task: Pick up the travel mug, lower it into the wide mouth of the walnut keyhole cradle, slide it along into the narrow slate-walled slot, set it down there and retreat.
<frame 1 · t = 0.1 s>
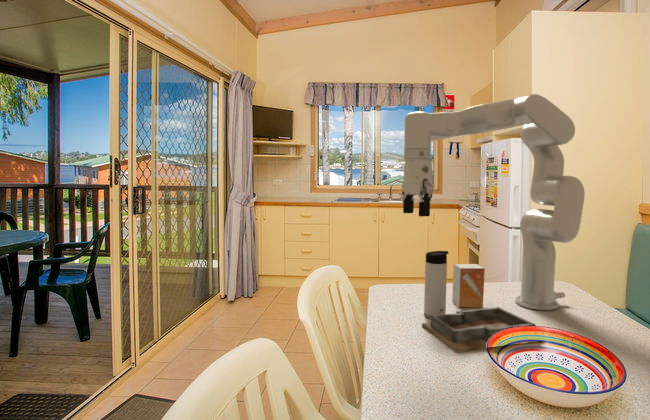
hand: (415, 214, 117), 31 cm above the table, fingers open, 9 cm apart
keyhole cradle: (474, 334, 107), on the table
small box: (467, 305, 131), on the table
travel mug: (435, 316, 120), on the table
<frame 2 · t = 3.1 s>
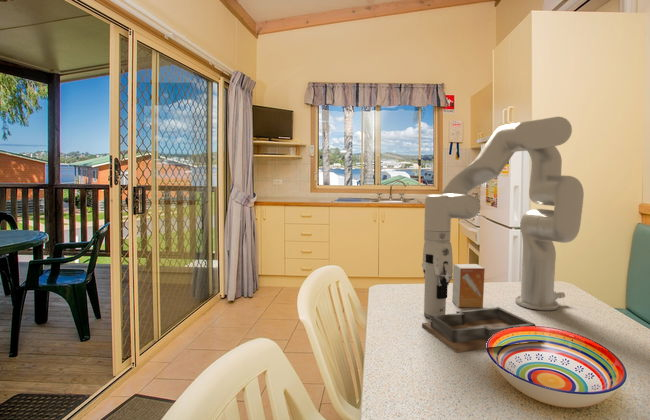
hand: (435, 294, 120), 7 cm above the table, fingers closed on travel mug, 6 cm apart
travel mug: (435, 316, 120), on the table, touching gripper
everything else where it was.
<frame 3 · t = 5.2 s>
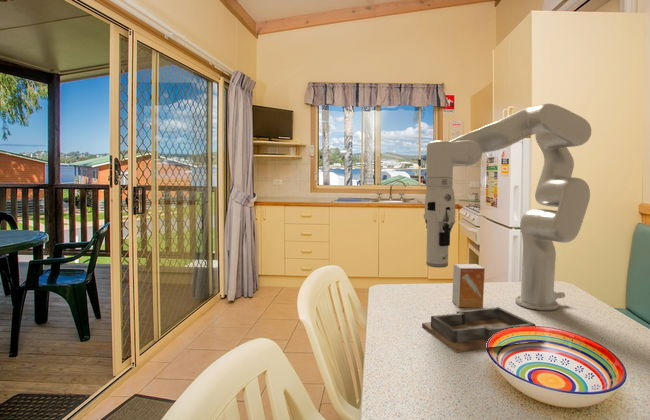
hand: (438, 243, 118), 22 cm above the table, fingers closed on travel mug, 6 cm apart
travel mug: (437, 266, 119), point 15 cm above the table, touching gripper
everything else where it was.
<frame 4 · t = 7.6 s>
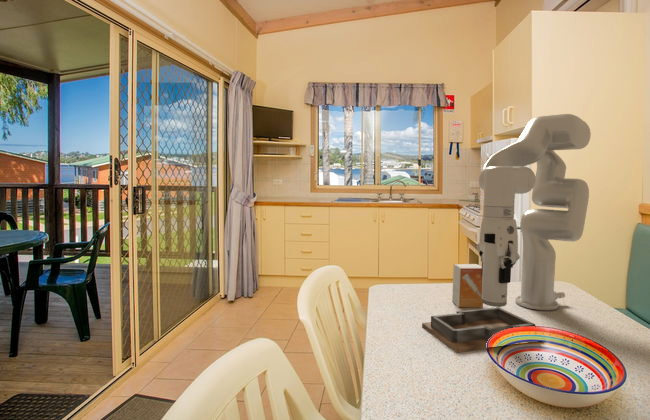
hand: (495, 278, 107), 15 cm above the table, fingers closed on travel mug, 6 cm apart
travel mug: (494, 304, 107), point 8 cm above the table, touching gripper
everything else where it was.
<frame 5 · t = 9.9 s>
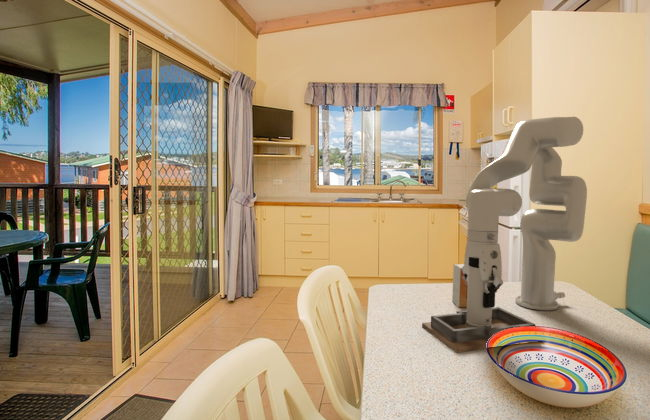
hand: (480, 302, 106), 9 cm above the table, fingers closed on travel mug, 6 cm apart
travel mug: (479, 327, 107), point 2 cm above the table, touching gripper
everything else where it was.
when the fingers open (8 cm above the table, at t = 12.0 s): travel mug stays where it is, resting on keyhole cradle.
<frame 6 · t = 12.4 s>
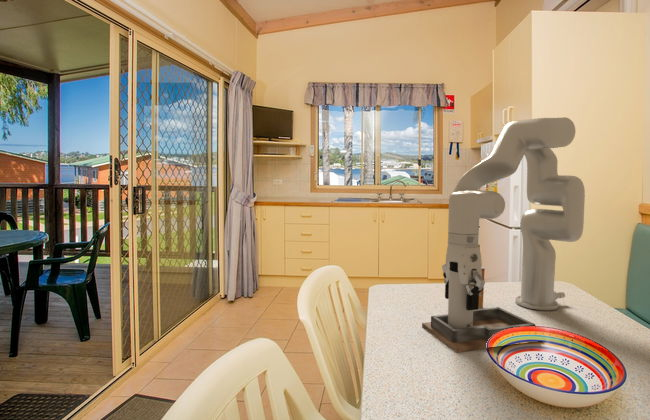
hand: (460, 303, 105), 9 cm above the table, fingers open, 9 cm apart
travel mug: (460, 332, 105), point 1 cm above the table, touching keyhole cradle
everything else where it was.
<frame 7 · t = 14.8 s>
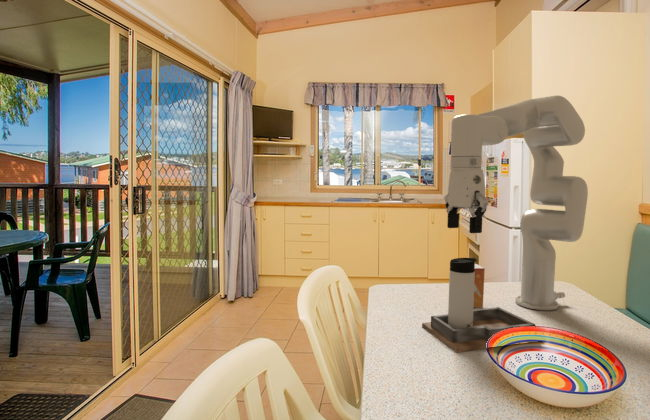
hand: (463, 230, 103), 28 cm above the table, fingers open, 9 cm apart
nothing on the table moved.
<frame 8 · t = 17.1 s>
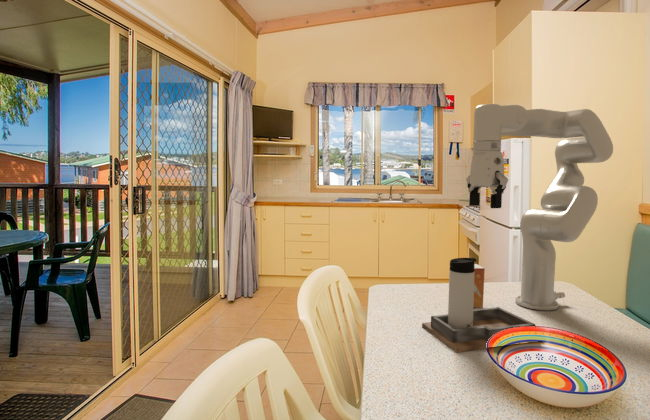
hand: (484, 206, 117), 33 cm above the table, fingers open, 9 cm apart
nothing on the table moved.
at the end: travel mug 0.7 cm from the target spot on the keyhole cradle, point 0.8 cm above the keyhole cradle's base; travel mug tilted 0°; the gripper is holding nothing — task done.
